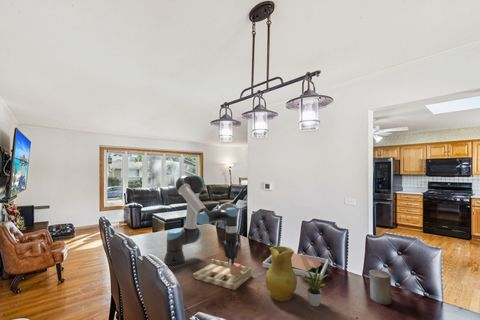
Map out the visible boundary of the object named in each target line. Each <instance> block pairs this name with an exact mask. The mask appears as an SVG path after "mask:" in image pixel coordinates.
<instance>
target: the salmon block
mask: <svg viewBox="0 0 480 320" xmlns="http://www.w3.org/2000/svg"><path fill="white" fill-rule="evenodd" d="M241 266H242V264H240V263H236V262H234V264H232V265H230V274H234V275H238V274H239V273H241Z"/></svg>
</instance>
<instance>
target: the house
mask: <svg viewBox="0 0 480 320" xmlns="http://www.w3.org/2000/svg"><path fill="white" fill-rule="evenodd" d="M295 253H296V252H294V253H293V255H292V257H291V259H292V260H291V261H292V268H293V269H297V270H302V271H306V270H308V271H309V272H311V273H313V271H314V272H316V271H317V269H318V271H319V270H320V267H321V265H323V263H321V262H322V261H319V260H316V259H312V258H309V257H306V256H302V255H303V254H301V255H299V254H300V253H296V254H295ZM305 269H306V270H305Z"/></svg>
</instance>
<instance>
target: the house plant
mask: <svg viewBox="0 0 480 320" xmlns="http://www.w3.org/2000/svg"><path fill="white" fill-rule="evenodd" d="M305 270H306V269H305ZM306 271H307V272H308V273H309V275H310V279H309V277H307V276H306V275H305V274H304V275H305V276H306V277H305V276H302V275H301V277H302V278H303V280H304V281H302V283H305V284H306V286H307V287H308V288H307V292H306V293H307V296H308V297H307V298H308V303H309V305H310V306H313V307H319V306H320V305H321V299H322V289H324V288H325V286H326V284H325V283H323V281H324V279H325V277H327V276H328V274H324V275H323V277H322V278H321V279H320V280H319V278H320V274H321V272H320V273H319V270H318V268H316V271H314V272H313V271H312V272H311V271H309V270H306ZM310 272H311V273H315V274H314V278H313V277H312V275H311V273H310ZM302 274H303V273H302ZM317 274H319V276H318V278H317ZM321 282H322V283H321Z"/></svg>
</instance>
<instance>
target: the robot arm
mask: <svg viewBox="0 0 480 320" xmlns="http://www.w3.org/2000/svg"><path fill="white" fill-rule="evenodd" d="M205 186H206V185H205V180H204V179H203V177H202V176H201V175H197V174H196V175H182V176H180V177H178V178H177V180H176V181H175V190H176V192H177V193H178V194H179V195H181V196H182V198H184V200H185V201H186V213H185V214H186V216H185V224H184V225H183V227H182V228H180V227H177V228H172V229H170V230H169V231H168V232H167V233H166V252H165V255H164V258H163V263H165V264H164V265H167V266H178V265H182V264H183V263H184V262H185V261H186V257H185V253H184V251H183V247H184V246H185V245H189V244H195V243H197V242H198V241H200V239H201V236H202V232H201V229H200V227H199V225H207V224H208V225H209V224H212V223H216V222H217V223H218V222H225V240H224V241H222V246H223V249H224V250H223V251H224V256H225V258H227V262H228V263H229V269H230V265H232V264H234V263H235V259H237V258H238V254H239V248H240V246H241V243H239V242H238V232H237V231H238V210H237V208H236V207H226V208H225V209H223V208H215V209H214V210H208V208H207V207H206V206H205V205H204V204H203V202H202V201H201V199H200V194H201V193H202V191H203V189H204V188H205ZM198 224H199V225H198Z"/></svg>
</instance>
